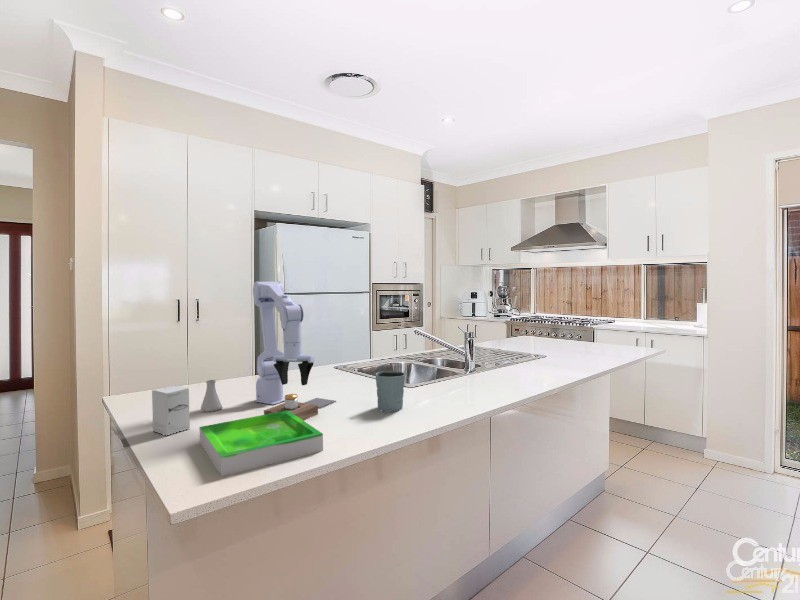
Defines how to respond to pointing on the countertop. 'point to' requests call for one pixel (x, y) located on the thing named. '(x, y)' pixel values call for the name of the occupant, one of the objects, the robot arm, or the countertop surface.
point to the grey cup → (390, 390)
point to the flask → (211, 398)
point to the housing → (296, 410)
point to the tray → (258, 441)
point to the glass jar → (291, 402)
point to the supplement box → (170, 409)
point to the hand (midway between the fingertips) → (294, 384)
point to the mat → (320, 402)
